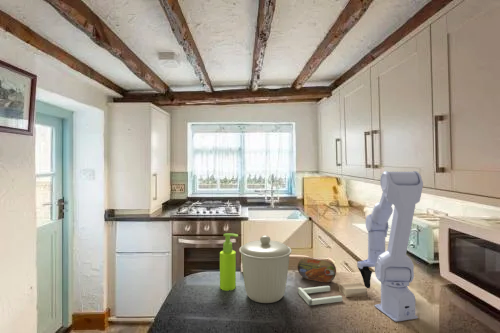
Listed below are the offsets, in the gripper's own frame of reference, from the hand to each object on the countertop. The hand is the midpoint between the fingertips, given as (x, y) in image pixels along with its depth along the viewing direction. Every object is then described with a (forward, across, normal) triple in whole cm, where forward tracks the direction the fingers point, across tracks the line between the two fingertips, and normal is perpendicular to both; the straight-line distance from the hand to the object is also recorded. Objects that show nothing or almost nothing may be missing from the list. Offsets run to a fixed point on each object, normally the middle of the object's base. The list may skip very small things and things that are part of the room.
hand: (376, 286), depth 104 cm
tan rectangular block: (+2, +10, 0) cm, 10 cm away
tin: (+2, +17, -14) cm, 22 cm away
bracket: (+2, +22, 0) cm, 23 cm away
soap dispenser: (+2, +52, -15) cm, 54 cm away
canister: (+2, +41, -5) cm, 41 cm away
